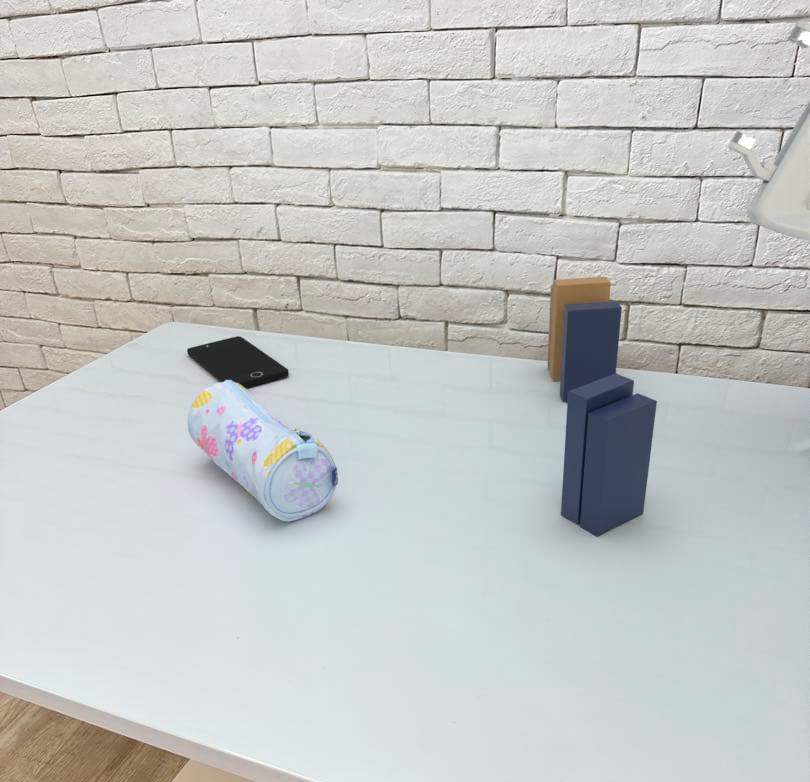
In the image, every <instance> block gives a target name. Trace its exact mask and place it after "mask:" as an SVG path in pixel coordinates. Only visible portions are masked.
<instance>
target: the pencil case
mask: <svg viewBox="0 0 810 782" xmlns="http://www.w3.org/2000/svg"><path fill="white" fill-rule="evenodd" d="M187 430H188V433H189V436H190V439H192V441H193V442H194V443H195V445H196V446H197V447H198V448H199V449H200V450H202V451H203V452H204V453H205V454H206V455H207V456H208V457H209V459H211V461H212V462H214V464H215V465H217V466H218V468H220V469H221V470H223V471H224V472H225V473H226V474H228V475H229V476H230V477H231V478H232V479H233V480H234V481H236V482H237V483H238V484H239V485H240V486H242V487H243V489H245V490H246V492H248V493H249V494H250V495H251V496H253V497H254V498H255V499H256V500H257V502H259V503H260V504H261V505H262V506H263V508H264V509H265V511H266V512H268V513H269V514H270V515H271V516H273V517H274V518H276V519H278V520H280V521H282V522H293V521H297V520H301V519H303V518H306V517H309V516H311V515H313V514H315V513H317V512H319V511H320V510H321V509H322V508H323V507H325V506H326V505H327V504H328V503H329V501H330V500H331V498H332V497H333V495H334V493H335V490H336V488H337V485H339V475H338V468H337V466H336V464H335V461H334V458H333V456H332V455H331V453H330V452H329V450H328V448H326V447H325V445H324V444H323V443H322V442H321V441H320V440H319V439H318V438H315V437H314V436H313V435H312V433H310V432H308V431H304V430H302V429H300V428H299V427H297V426H294V427H293V428H292V429H290V428H289V427H288V426H287V425H285V424H284V423H283V422H282V421H281V420H279V419H278V418H277V417H276V416H275V415H274V414H273V413H272V412H271V411H270V410H269V409H268V408H266V407H265V406H263V404H261V403H260V402H259V401H258V399H256V398H254V397H253V396H252V395H251V393H250V392H249V390H248V389H247V388H244V387H243V386H242V385H240V384H239V383H235V382H233V381H232V380H225V381H224V382H221V381H220V382H215V383H214V384H212V385H209V386H207V387H205V388H204V389H202V390H200V392H198V394H197V395H196V396H195V397H194V399H193V401H192V403H191V405H190V408H189V410H188V415H187Z"/></svg>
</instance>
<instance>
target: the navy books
mask: <svg viewBox="0 0 810 782" xmlns="http://www.w3.org/2000/svg"><path fill="white" fill-rule="evenodd" d="M634 387H635V379H631V378H629V377H627V376H623V375H621V374H618V373H617V372H616V373H615V374H612V375H610V376H607V377H605V378H602V379H599V380H597V381H594V382H592V383H589V384H586V385H584V386H581V387H579V388H576V389H573V390H571V391H568V402H566V405H567V406H566V419H565V421H566V422H565V438H564V452H563V453H564V454H563V469H562V471H563V473H562V487H561V488H562V490H561V507H560V515H561V516H562V517H564V518H565V519H567V520H569V521H571V522H573V523H575V524H576V525H579V527H580V528H582V529H583V530H585V531H587V532H588V533H590V534H592V535H594V536H595V537H599V536H602V535H604V534H605V533H606V534H607V532H609V531H611V530H612V531H613V530H614V529H615V528H619V526H622V525H623V524H625V523H627V522H630V521H632V520H634V519H635V518H638V517H639V516H641V515H643V514H644V510H645V502H646V493H647V485H648V479H649V471H650V461H651V453H652V444H653V436H654V429H655V420H656V413H657V404H658V401H657V400H656V399H653V398H651V397H649V396H646V395H643V394H640V393H634Z"/></svg>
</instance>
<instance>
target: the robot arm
mask: <svg viewBox="0 0 810 782" xmlns="http://www.w3.org/2000/svg"><path fill="white" fill-rule="evenodd" d="M787 41H788V42H790V43H792V44H796V46H797V47H799V48H801V49H803V50H805V49H807V48H810V23H809V22H807V21H805V20H801V19H800V20H798V21H797V22H796V23H795V25H794V27H793V29H792V30H791V32H790V34H789V37H787ZM756 142H757V139H756V138H754V137H752V136H747V134H746V133H744V132H742V131H739V130H738V131H736V132H735V133H734V135H733V137H732V138H731V140H730V142H729V143H728V146H727V148H728V149H729V150H730V151H733V152H735V153H737V154H739V155H741V156H742V158H743V160H744V161H745V164H746V166H747V168H748V169H749V172H750V174H751V175H752V176H753V177H755V178H757V179H759V180H761V184H759V187H758V188H757V190H756V192H755V193H754V195H753V197H752V198H751V200H750V202H749V203H748V206H747V208H746V213H747V216H748V219H749V221H750V222H751V223H753V224H755V225H757V226H760V227H762V228H765V229H768V230H769V231H773V232H775V233H777V234H782V235H783V236H784V235H785V236H787V237H791V238H795V239H799V240H804V241H810V100H809V101H808V102H807V104H806V106H805V107H804V109H803V112H802V113H801V115H800V116H799V118H798V119H797V122H796V123H795V125H794V127H793V128H792V131H791V132H790V133H789V135H788V137H787V139H786V140H785V142H784V144H783V145H782V147H781V149H780V150H779V153H778V154H777V156H776V157H775V159H774V161H773V163H772V162H770V161H760V160H759V158H758V157H757V154H756V153H755V152H754V149H753V148H754V146H755V144H756Z"/></svg>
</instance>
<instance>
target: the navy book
mask: <svg viewBox="0 0 810 782" xmlns="http://www.w3.org/2000/svg"><path fill="white" fill-rule="evenodd" d="M622 311H623V307H622V306H621V304H620V303H619V302H618V300H614V301H609V302H595V303H578V304H565V305H564V322H563V341H562V360H561V378H560V381H559V396H560V399H561V401H562V402H563V403H567V402H568V391H571V390H573V389H576V388H579V387H581V386H584V385H586V384H589V383H592V382H594V381H597V380H599V379H602V378H605V377H607V376H610V375H612V374H615V373H616V374H617V367H618V366H617V363H618V354H619V342H620V332H621V320H622Z"/></svg>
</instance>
